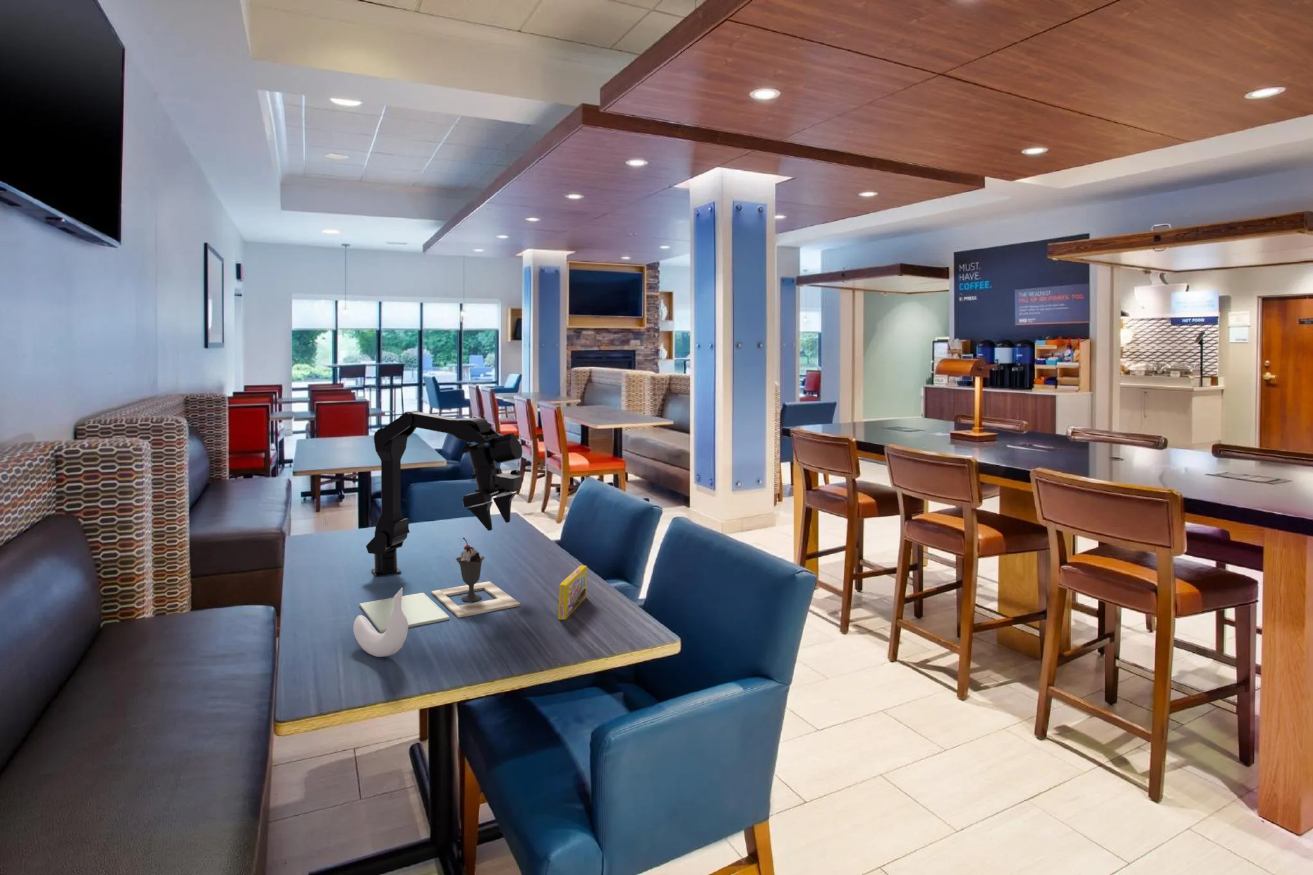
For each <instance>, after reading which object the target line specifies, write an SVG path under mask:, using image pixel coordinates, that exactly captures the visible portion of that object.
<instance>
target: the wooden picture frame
mask: <svg viewBox="0 0 1313 875" xmlns="http://www.w3.org/2000/svg"><path fill="white" fill-rule="evenodd" d="M477 591H485V592H486V593H488V595H490V596H491V597H493V598H494V599H488V600H482V601H476V602H470V603H467V604H461V605H458V604H456V603H455V602H454V601H453V600H452V599H450V597H449V596H455V595H461V594H467V593H469V586H468V585H467V584H465V585H461V586H454V587H448V588H442V589H436V590H431V592H430V593H431V595H433V597H434V598H436V600H438V601H439V602H441V604H443V605H444V606H445V608H447V609H448V610H449V611H450V612H451V613H452V614H454V615H455V617H457V618H458V619H459V618H463V617H469V616H474V615H479V614H485V613H490V612H494V611H500V610H506V609H509V608H510V609H511V608H514V607H520V606H521V603H520V602H519V601H517V600H516V599H515V598H513V597H512V596H510V595H509V594H508V593H506V592H505V591H503V590H502V589H501V588H499V587H498V586H497V585H495V584H494V583H492V582H491V581H490V580H489V581H485V582H484V581H483V582H477V583H475V584H474V592H477Z"/></svg>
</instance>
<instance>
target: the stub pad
mask: <svg viewBox="0 0 1313 875" xmlns="http://www.w3.org/2000/svg"><path fill="white" fill-rule="evenodd" d="M359 608H360V609H362V611H363V612H364V613H365V615H366V617H368V620H370V622H371V624H373V625H374V627H375V629H377V630H378V632H379V633H380V634H382V633H384V632H386V630H387V626H388V623H389V619H390V616H391V614H392V611H393V609H394V597H389V598H385V599H378V600H372V601H367V602H361V603H359ZM401 608H402V611H403V613H404V614H405V616H406V618H407V621H408V628H412V627H418V626H423V625H428V624H433V623H437V622H444V621H448V620H449V621H450V616H449V615H448V614H447V613H446V612H445V610H443V609H441V608H440V606H438V605H437V604H436V603H435V602H434V601H433V600H432V599H431V598H430V597H429V596H428V595H427V594H425V593H424V592H419V593H414V594H413V593H412V594H407V595H402V600H401Z"/></svg>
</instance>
